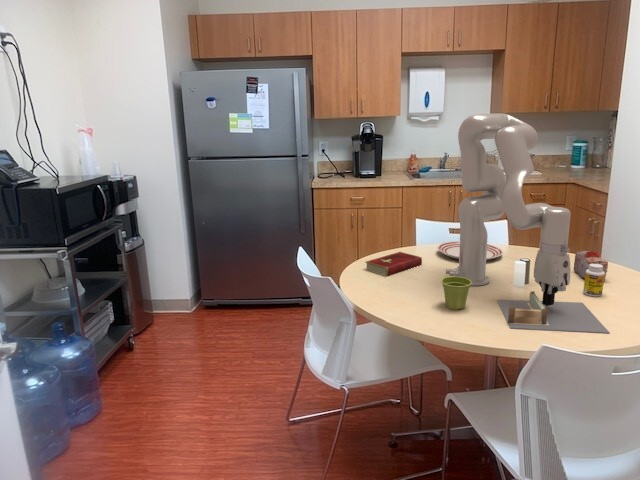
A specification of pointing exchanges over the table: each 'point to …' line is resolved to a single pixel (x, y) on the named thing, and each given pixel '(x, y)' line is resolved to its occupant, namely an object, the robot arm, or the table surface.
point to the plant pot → (456, 291)
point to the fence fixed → (526, 316)
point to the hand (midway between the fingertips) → (548, 304)
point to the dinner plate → (454, 250)
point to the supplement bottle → (594, 280)
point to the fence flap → (536, 303)
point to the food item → (588, 262)
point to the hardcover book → (393, 263)
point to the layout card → (557, 317)
